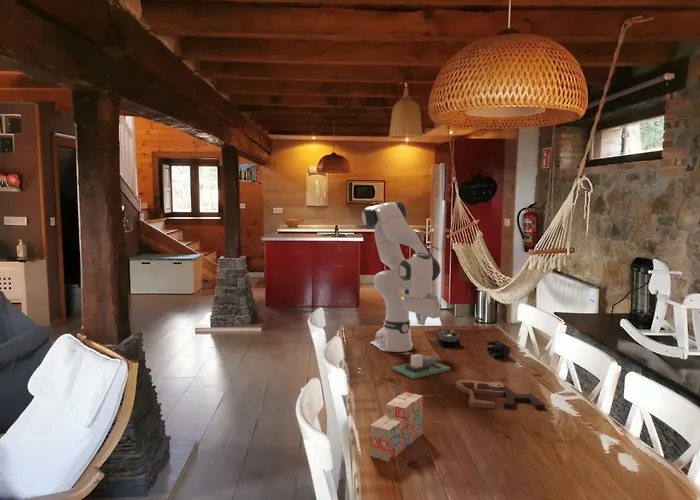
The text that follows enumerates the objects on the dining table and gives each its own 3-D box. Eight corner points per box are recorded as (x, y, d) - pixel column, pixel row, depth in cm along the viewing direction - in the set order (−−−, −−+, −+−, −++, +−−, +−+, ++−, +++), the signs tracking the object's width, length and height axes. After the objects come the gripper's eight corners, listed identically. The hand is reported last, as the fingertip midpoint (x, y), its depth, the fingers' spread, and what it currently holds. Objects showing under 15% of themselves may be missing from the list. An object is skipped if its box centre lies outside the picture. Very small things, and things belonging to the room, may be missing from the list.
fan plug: (410, 369, 217) (410, 355, 216) (419, 367, 219) (419, 353, 219) (415, 370, 214) (415, 356, 214) (423, 368, 216) (423, 355, 216)
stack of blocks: (389, 463, 140) (389, 419, 139) (369, 456, 144) (369, 414, 143) (423, 433, 158) (423, 394, 157) (404, 429, 162) (405, 391, 161)
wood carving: (545, 411, 176) (528, 386, 199) (545, 405, 176) (528, 381, 199) (461, 408, 179) (454, 384, 202) (462, 402, 179) (455, 379, 202)
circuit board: (392, 369, 220) (392, 360, 219) (428, 361, 230) (428, 353, 230) (413, 378, 208) (413, 369, 207) (450, 370, 218) (450, 361, 218)
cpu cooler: (461, 336, 253) (441, 336, 253) (461, 347, 254) (440, 348, 253) (456, 331, 263) (436, 331, 263) (456, 342, 264) (436, 342, 264)
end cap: (510, 359, 234) (510, 344, 234) (495, 359, 233) (495, 345, 233) (501, 352, 244) (501, 338, 243) (486, 353, 243) (486, 339, 243)
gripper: (444, 295, 208) (443, 328, 210) (412, 287, 226) (412, 318, 227) (432, 296, 205) (431, 330, 206) (401, 289, 222) (400, 320, 224)
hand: (421, 324), depth 217 cm, fingers closed
